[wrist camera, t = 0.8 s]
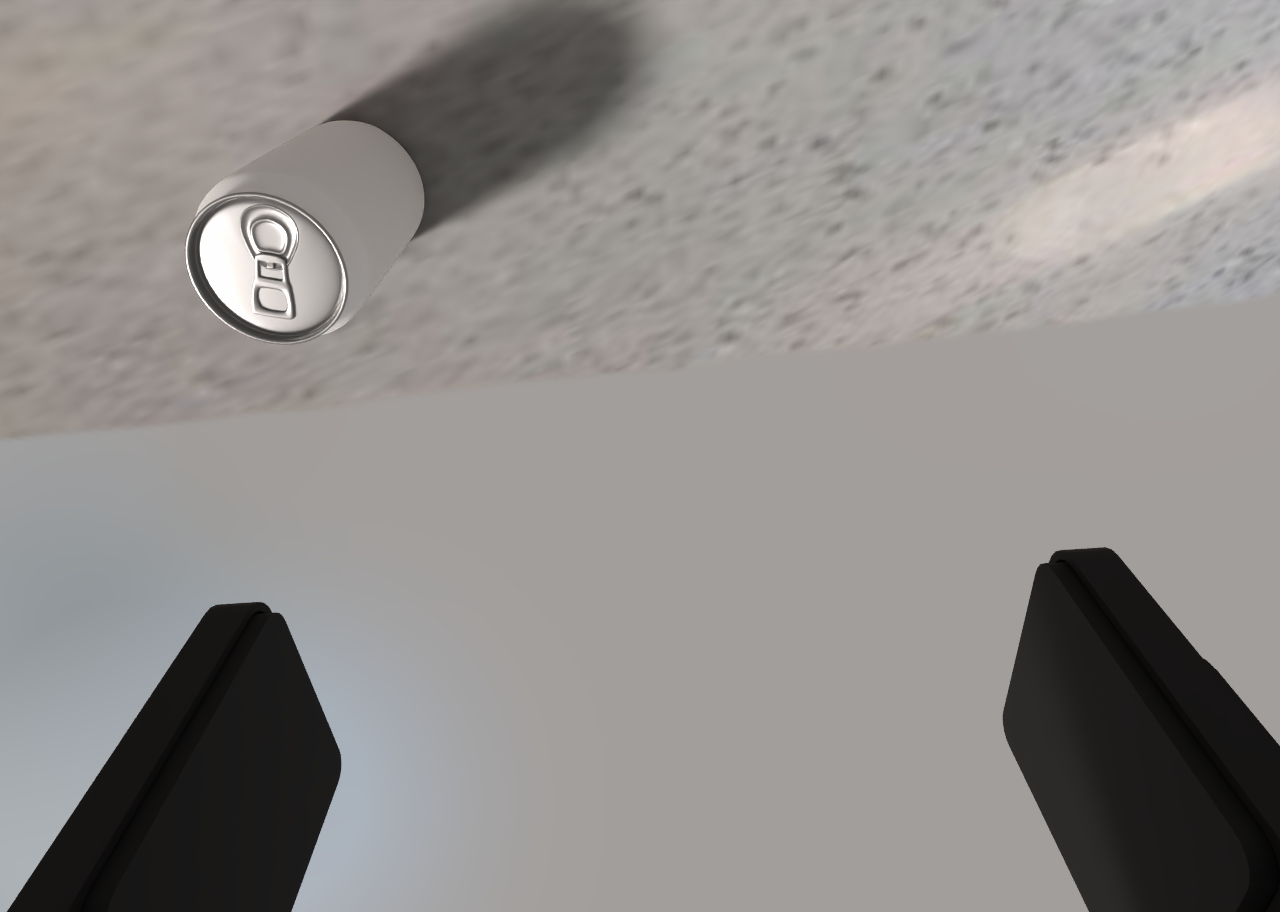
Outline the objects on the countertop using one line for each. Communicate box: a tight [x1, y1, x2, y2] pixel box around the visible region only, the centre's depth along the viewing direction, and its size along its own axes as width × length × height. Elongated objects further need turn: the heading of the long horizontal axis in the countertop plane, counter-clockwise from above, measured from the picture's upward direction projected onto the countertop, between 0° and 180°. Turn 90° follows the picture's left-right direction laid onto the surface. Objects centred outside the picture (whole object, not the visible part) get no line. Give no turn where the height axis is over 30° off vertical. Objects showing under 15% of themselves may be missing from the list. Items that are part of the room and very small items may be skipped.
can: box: [185, 120, 424, 344], centre depth 34 cm, size 6×6×12 cm
